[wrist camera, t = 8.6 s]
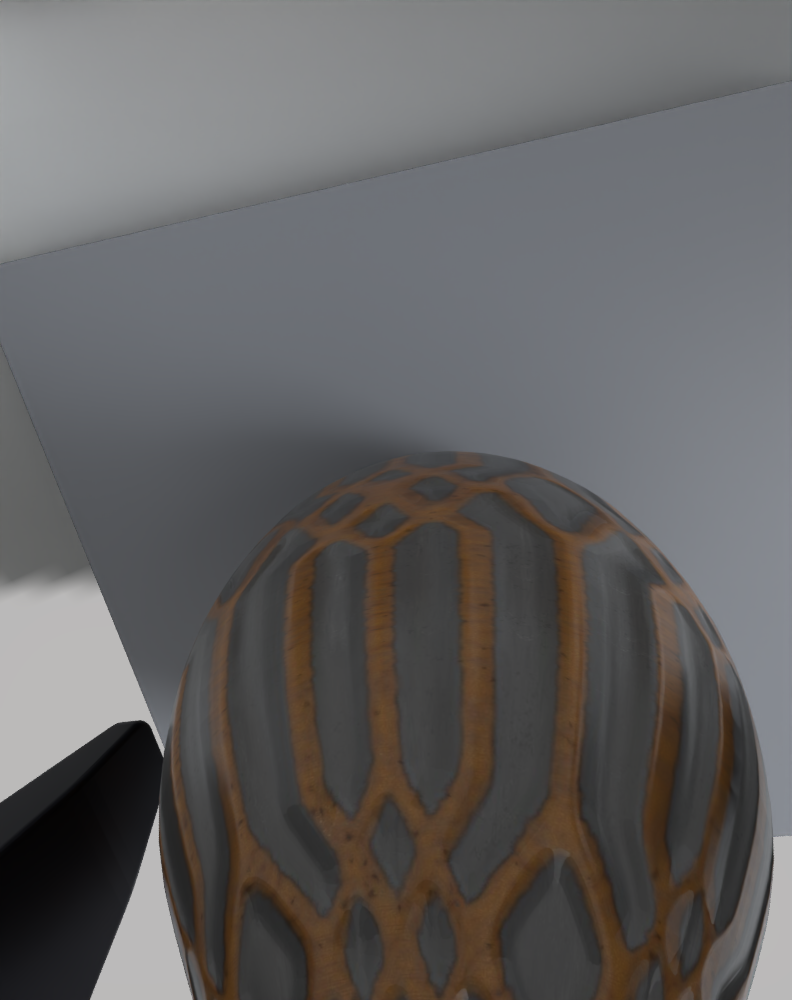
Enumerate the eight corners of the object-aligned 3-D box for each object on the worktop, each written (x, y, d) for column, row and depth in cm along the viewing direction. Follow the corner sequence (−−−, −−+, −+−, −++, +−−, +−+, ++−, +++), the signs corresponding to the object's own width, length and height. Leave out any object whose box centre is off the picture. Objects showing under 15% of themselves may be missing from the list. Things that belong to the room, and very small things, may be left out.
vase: (651, 712, 12) (1092, 1657, 4) (320, 751, 13) (107, 1563, 5) (622, 369, 10) (1557, 887, 2) (222, 447, 11) (-490, 1010, 3)
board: (830, 88, 9) (896, 56, 8) (799, 776, 14) (838, 832, 13) (29, 271, 11) (-30, 270, 10) (236, 822, 16) (216, 875, 15)
